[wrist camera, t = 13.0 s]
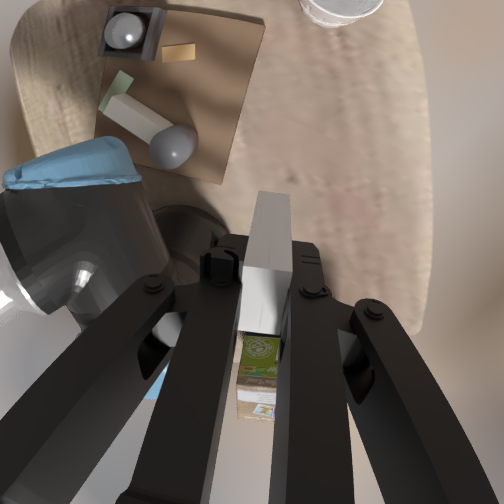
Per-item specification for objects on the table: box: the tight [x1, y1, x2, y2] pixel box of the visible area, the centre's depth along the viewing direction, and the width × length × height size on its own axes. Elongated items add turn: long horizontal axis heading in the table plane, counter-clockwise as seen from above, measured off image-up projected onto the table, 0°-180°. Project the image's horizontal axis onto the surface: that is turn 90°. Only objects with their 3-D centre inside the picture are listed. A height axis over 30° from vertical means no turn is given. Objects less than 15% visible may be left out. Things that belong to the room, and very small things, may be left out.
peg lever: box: [103, 94, 198, 169], centre depth 33 cm, size 12×4×5 cm, turn 53°
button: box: [104, 13, 149, 49], centre depth 28 cm, size 4×4×3 cm
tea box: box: [236, 331, 281, 422], centre depth 47 cm, size 15×10×15 cm, turn 89°
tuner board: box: [94, 6, 266, 185], centre depth 33 cm, size 20×18×4 cm
